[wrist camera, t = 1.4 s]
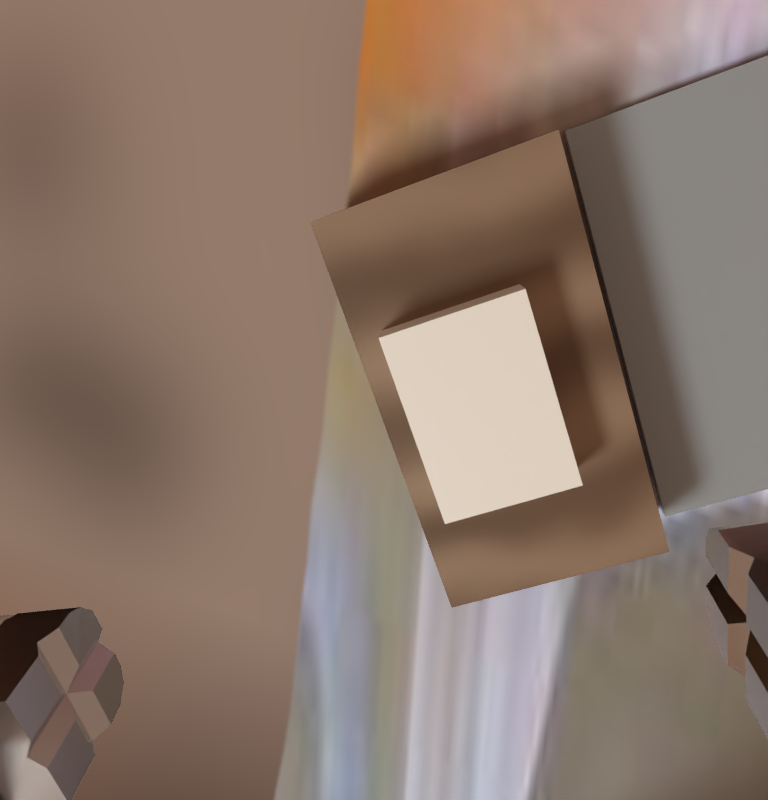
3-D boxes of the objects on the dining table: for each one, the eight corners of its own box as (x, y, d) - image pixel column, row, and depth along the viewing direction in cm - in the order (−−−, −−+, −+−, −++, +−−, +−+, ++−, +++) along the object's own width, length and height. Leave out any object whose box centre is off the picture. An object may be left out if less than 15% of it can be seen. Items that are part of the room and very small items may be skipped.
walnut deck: (645, 517, 38) (669, 551, 34) (450, 569, 40) (451, 607, 36) (543, 139, 32) (558, 129, 28) (324, 221, 34) (310, 222, 30)
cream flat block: (574, 469, 33) (582, 485, 31) (444, 506, 34) (444, 524, 32) (519, 284, 30) (525, 288, 29) (381, 330, 32) (378, 338, 30)
